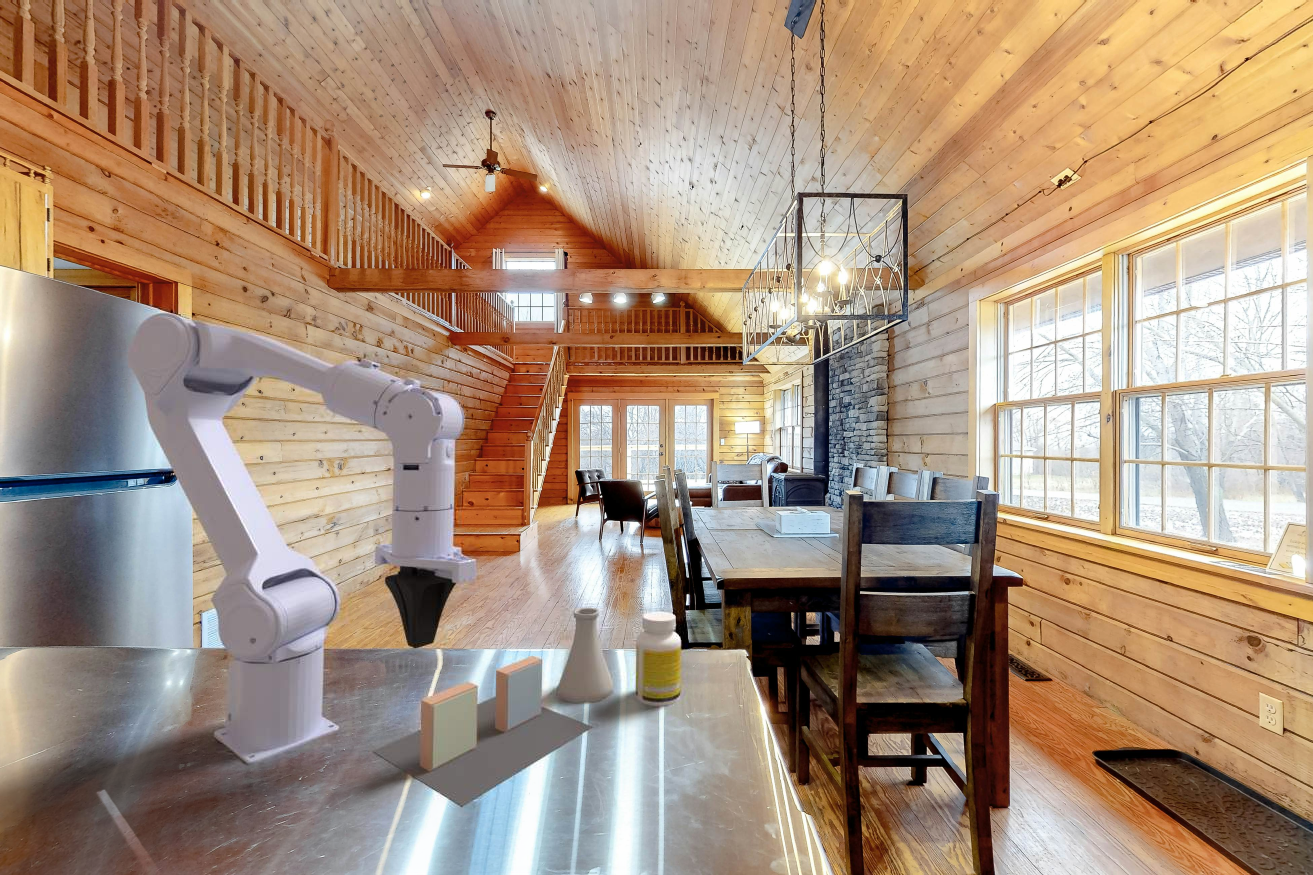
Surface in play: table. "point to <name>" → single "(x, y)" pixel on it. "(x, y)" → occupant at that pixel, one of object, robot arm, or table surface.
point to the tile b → (518, 693)
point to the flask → (585, 663)
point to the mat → (486, 753)
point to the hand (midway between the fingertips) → (420, 644)
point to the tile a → (448, 725)
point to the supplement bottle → (658, 660)
